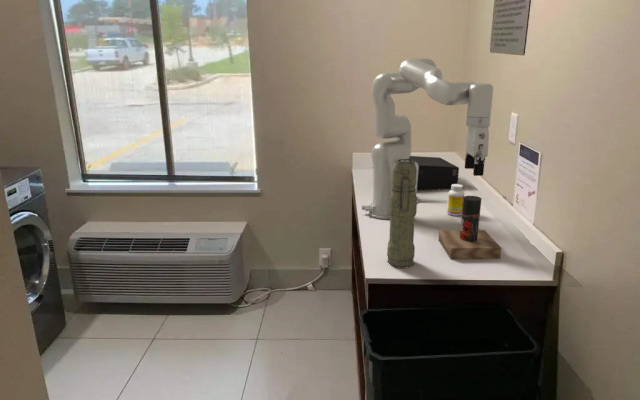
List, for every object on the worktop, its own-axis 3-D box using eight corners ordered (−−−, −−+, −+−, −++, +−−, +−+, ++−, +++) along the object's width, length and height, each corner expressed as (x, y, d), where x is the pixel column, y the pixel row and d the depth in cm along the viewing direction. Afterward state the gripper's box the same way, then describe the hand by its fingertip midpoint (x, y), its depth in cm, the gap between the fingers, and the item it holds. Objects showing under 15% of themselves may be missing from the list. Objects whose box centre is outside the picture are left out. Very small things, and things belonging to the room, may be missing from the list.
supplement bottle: (463, 216, 208) (465, 187, 204) (447, 216, 209) (449, 187, 206) (462, 212, 214) (464, 183, 211) (446, 211, 216) (448, 183, 212)
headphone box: (378, 180, 269) (378, 154, 264) (438, 177, 274) (440, 151, 270) (391, 192, 245) (392, 164, 241) (457, 188, 251) (459, 161, 246)
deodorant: (480, 239, 172) (485, 199, 168) (467, 242, 170) (471, 201, 165) (469, 234, 177) (472, 194, 173) (456, 236, 175) (459, 196, 170)
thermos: (390, 270, 158) (394, 165, 148) (384, 256, 169) (387, 157, 159) (417, 269, 159) (423, 164, 148) (409, 255, 170) (414, 156, 160)
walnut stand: (450, 259, 166) (451, 248, 165) (438, 240, 183) (439, 230, 182) (500, 258, 167) (501, 247, 165) (483, 240, 183) (484, 230, 182)
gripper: (498, 125, 154) (493, 178, 159) (481, 118, 170) (476, 166, 175) (474, 125, 154) (470, 178, 159) (459, 118, 170) (455, 166, 175)
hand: (473, 171), depth 167 cm, fingers open, 9 cm apart
